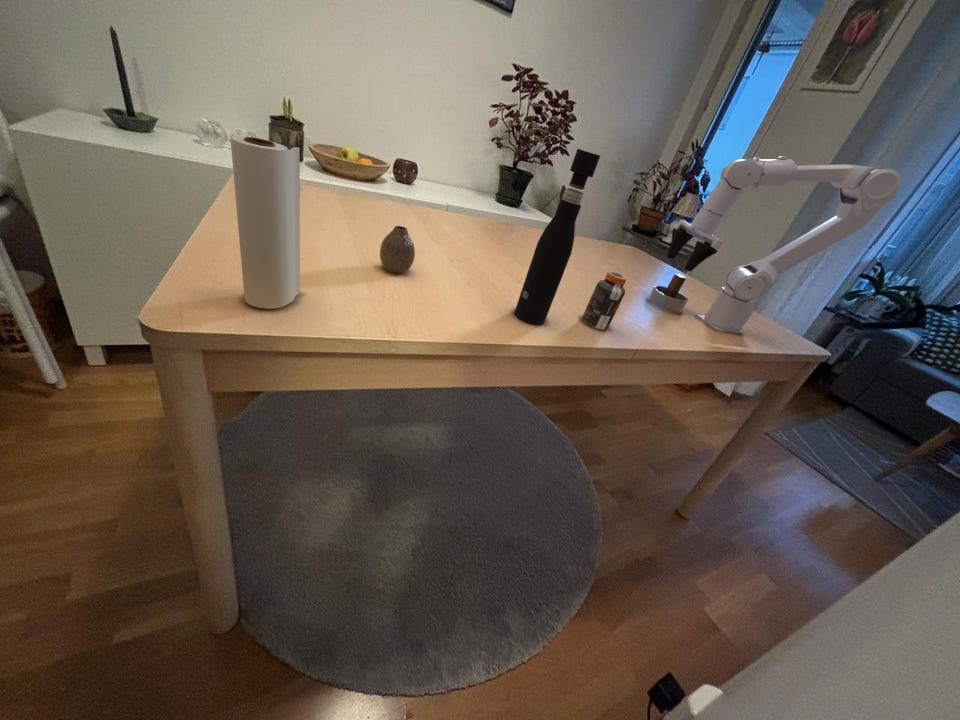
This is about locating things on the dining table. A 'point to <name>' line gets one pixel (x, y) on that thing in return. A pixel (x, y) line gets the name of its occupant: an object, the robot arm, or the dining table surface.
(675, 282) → the stick
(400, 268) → the vase
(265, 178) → the paper towel roll
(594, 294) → the pill bottle
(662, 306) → the tin
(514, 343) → the dining table surface
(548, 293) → the black water bottle
